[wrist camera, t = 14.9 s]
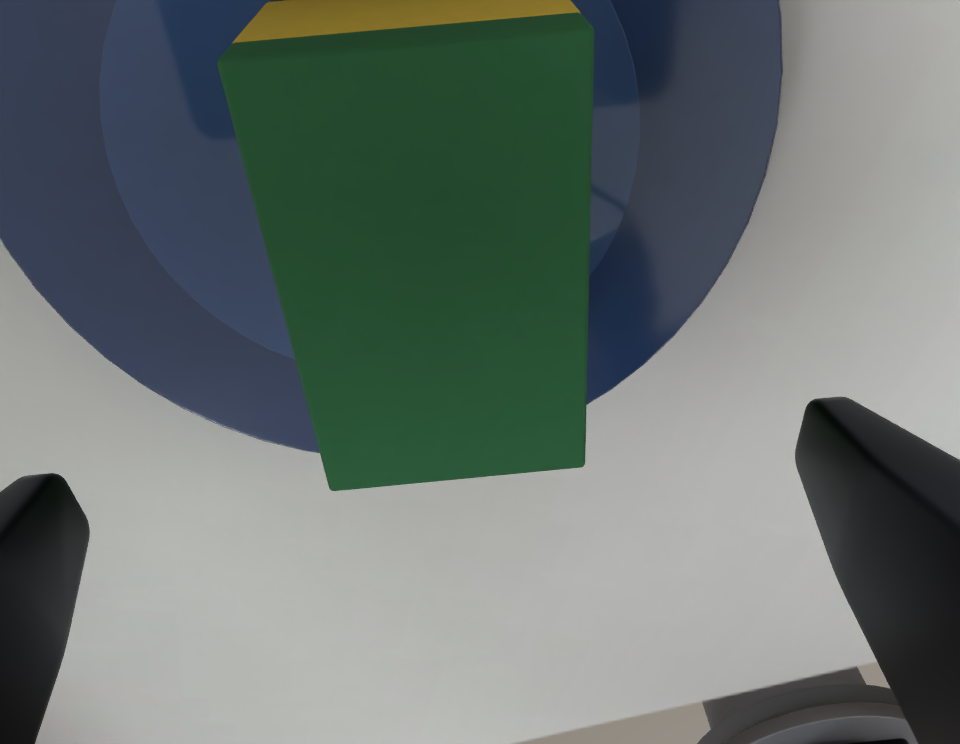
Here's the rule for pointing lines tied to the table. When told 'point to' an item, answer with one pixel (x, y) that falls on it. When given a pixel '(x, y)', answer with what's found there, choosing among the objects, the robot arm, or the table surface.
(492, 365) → the sponge
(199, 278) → the plate
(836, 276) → the table surface
